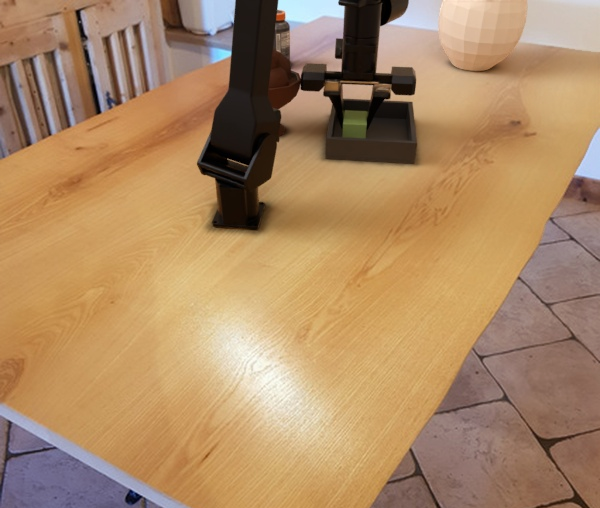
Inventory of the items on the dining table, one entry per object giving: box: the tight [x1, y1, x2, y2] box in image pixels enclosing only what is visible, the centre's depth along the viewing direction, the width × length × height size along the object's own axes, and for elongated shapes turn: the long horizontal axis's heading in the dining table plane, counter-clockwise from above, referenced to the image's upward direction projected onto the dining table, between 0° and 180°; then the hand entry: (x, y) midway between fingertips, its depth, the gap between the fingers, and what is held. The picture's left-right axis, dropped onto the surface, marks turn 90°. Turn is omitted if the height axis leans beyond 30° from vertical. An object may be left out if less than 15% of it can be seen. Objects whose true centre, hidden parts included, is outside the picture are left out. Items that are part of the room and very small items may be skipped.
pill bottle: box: [273, 9, 291, 61], centre depth 123 cm, size 6×6×11 cm
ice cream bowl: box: [268, 48, 301, 137], centre depth 94 cm, size 11×11×15 cm
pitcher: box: [437, 0, 528, 72], centre depth 119 cm, size 19×18×25 cm
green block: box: [342, 110, 367, 138], centre depth 96 cm, size 6×4×3 cm, turn 174°
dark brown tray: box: [324, 98, 418, 165], centre depth 96 cm, size 18×15×4 cm
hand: (354, 128), depth 96 cm, fingers closed on green block, 4 cm apart
